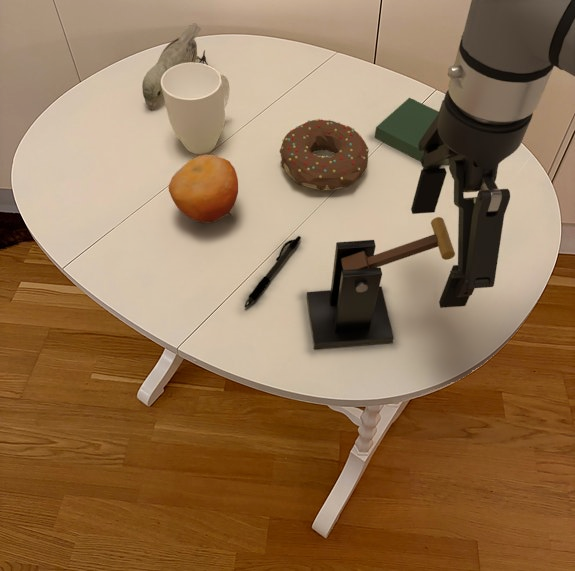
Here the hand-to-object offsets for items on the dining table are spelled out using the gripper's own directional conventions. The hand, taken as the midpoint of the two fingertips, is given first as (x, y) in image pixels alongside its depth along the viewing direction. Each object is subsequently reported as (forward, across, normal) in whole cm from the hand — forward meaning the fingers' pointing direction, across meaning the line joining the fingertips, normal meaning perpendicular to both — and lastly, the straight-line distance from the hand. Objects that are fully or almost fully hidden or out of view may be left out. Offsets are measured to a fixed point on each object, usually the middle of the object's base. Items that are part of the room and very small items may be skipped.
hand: (436, 255), depth 68 cm
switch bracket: (+12, 0, -9) cm, 15 cm away
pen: (+12, -8, -18) cm, 24 cm away
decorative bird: (+13, -52, -32) cm, 62 cm away
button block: (+12, -33, +10) cm, 36 cm away
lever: (0, 0, -4) cm, 4 cm away
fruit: (+12, -20, -27) cm, 35 cm away
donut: (+12, -28, -8) cm, 32 cm away
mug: (+13, -37, -27) cm, 47 cm away
